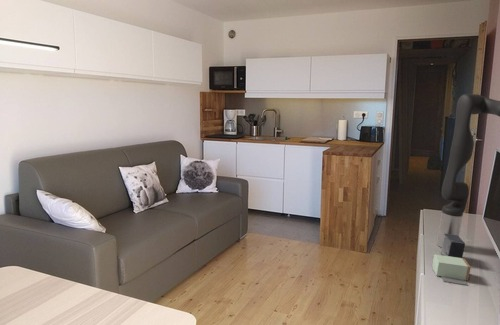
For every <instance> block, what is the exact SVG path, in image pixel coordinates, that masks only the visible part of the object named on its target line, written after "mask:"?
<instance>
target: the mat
mask: <svg viewBox="0 0 500 325" xmlns="http://www.w3.org/2000/svg"><path fill="white" fill-rule="evenodd" d="M440 278H441V280H442V281H443V283H449V284H454V285H461V286H469V284H468V282H467V280H462V279H455V278H449V277H443V276H440Z"/></svg>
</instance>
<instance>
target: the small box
mask: <svg viewBox="0 0 500 325" xmlns="http://www.w3.org/2000/svg"><path fill="white" fill-rule="evenodd" d="M465 245H466V243H465V241H463V240H462V238H461V237H460V235H459V236H458V235H452V234H446V233H445V234H444V240H443V245H442V248H441V249H440V255H443V256H450V257H457V258H463V256H464V250H465V248H466V247H465Z"/></svg>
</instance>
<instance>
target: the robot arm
mask: <svg viewBox="0 0 500 325" xmlns="http://www.w3.org/2000/svg"><path fill="white" fill-rule="evenodd" d="M478 114H479V115H481V114H482V115H483V114H484V115H485V114H487V115H493V116H494V115H495V116H497V117H499V118H500V100H497V99H492V98H489V97H487V96H484V95H481V94H475V93H464V94H461V96H460V97H459V98H458V99H457V103H456V108H455V121H454V122H455V123H454V130H453V137H452V140H451V141H452V142H451V146H450V152H449V158H448V163H447V168H446V172H445V175H444V179H443V182H442V186H441V197H442V198H443V199H444V200H445V201H451V202H450V203H448V204H445V205H443V206H442V209H441V215H440V220H439V227H438V233H437V237H436V239H437V240H436V246H438V247H439V248H441V249H442V245H443V240H444V234H445V233H446V234H452V235H458V236H459V237H460V232H461V227H462V221H463V216H464V212H465V211H466V207H467V205H468V204H467V202H468V200H469V196H470V188H469V185H468V183H467V182H463V181H457V177H458V176H459V173H460V172H461V170H462V169H463V168H464V167H465V166H466V165H467V163H469V161H470V159H471V158H472V155H473V153H474V152H473V151H474V147H475V146H474V145H475V139H474V138H473V134H472V131H471V128H470V123H471V121H470V120H471V116H472V115H478Z"/></svg>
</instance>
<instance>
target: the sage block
mask: <svg viewBox="0 0 500 325" xmlns="http://www.w3.org/2000/svg"><path fill="white" fill-rule="evenodd" d="M431 267H432V269H433V272H434V274H435V275H436V276H437V277H441V276H443V277H449V278H455V279H462V280H465V281H469V277H470V273H471V272H470V271H471V264H469V263H468V261H467V260H466V259H465V258H463V257H462V258H457V257H450V256H443V255H441V254H435V253H434V255H433V261H432V266H431Z"/></svg>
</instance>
